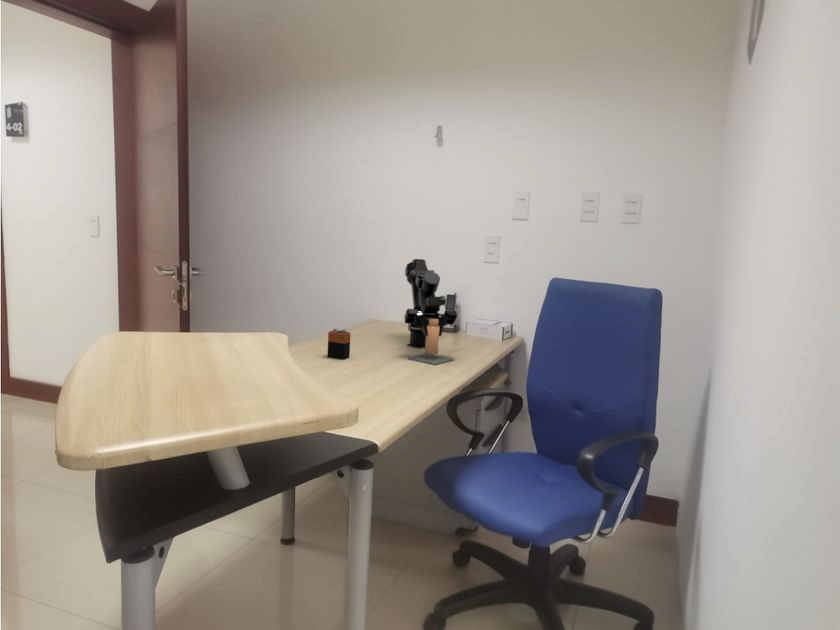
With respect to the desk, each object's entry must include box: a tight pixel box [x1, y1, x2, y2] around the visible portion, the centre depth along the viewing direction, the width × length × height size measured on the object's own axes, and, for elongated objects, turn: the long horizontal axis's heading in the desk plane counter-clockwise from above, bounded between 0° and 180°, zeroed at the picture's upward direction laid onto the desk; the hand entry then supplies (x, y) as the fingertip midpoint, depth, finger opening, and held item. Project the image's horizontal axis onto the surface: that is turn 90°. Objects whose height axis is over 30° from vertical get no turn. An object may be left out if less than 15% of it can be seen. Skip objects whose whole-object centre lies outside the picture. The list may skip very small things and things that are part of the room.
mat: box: [407, 353, 455, 366], centre depth 207 cm, size 12×12×1 cm
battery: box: [327, 328, 351, 360], centre depth 201 cm, size 4×7×10 cm, turn 68°
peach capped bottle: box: [424, 318, 440, 355], centre depth 206 cm, size 5×5×12 cm
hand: (433, 335), depth 205 cm, fingers closed on peach capped bottle, 5 cm apart
